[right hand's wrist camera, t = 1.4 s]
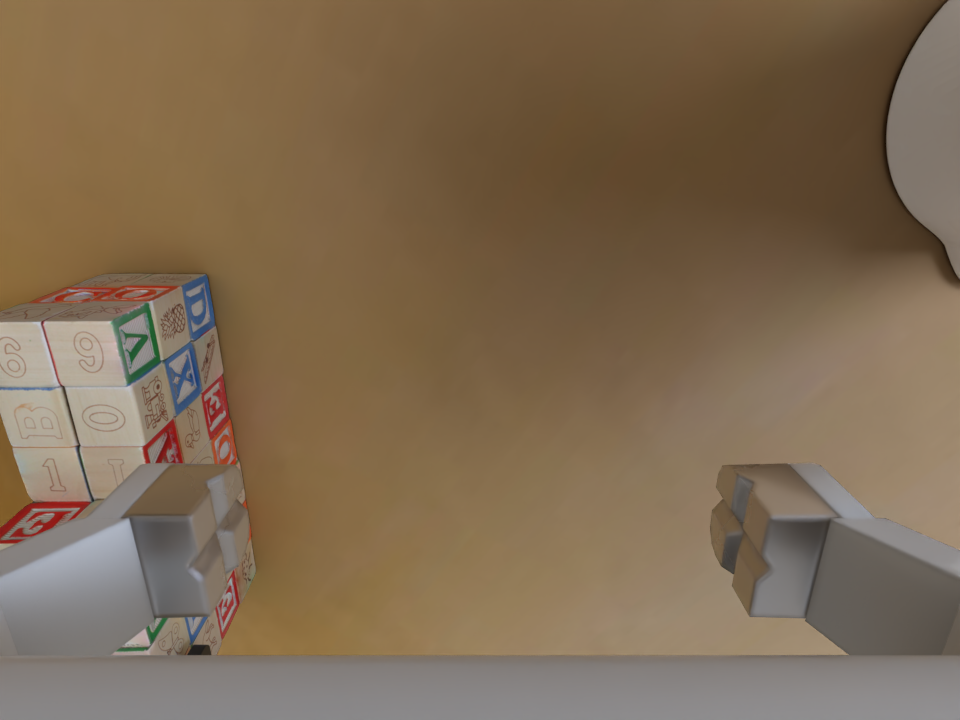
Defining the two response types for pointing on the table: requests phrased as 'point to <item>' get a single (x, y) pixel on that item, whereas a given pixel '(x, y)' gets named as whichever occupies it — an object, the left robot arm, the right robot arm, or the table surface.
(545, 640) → the table surface
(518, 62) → the table surface
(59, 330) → the stack of blocks
